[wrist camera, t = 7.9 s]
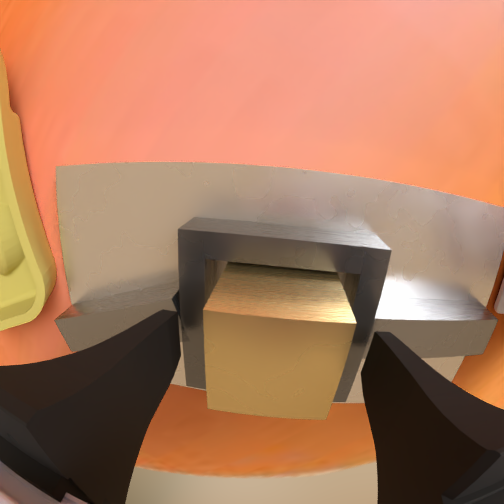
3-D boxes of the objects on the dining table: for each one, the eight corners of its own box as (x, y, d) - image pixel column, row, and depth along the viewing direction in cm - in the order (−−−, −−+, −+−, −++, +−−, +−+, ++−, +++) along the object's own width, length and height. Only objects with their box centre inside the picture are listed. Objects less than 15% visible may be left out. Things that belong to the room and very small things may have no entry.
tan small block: (331, 258, 12) (356, 323, 7) (317, 338, 13) (325, 419, 8) (234, 249, 12) (203, 309, 7) (232, 330, 13) (207, 408, 9)
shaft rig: (501, 206, 11) (536, 219, 8) (437, 387, 15) (452, 418, 12) (67, 164, 13) (28, 171, 10) (93, 351, 17) (71, 378, 14)
